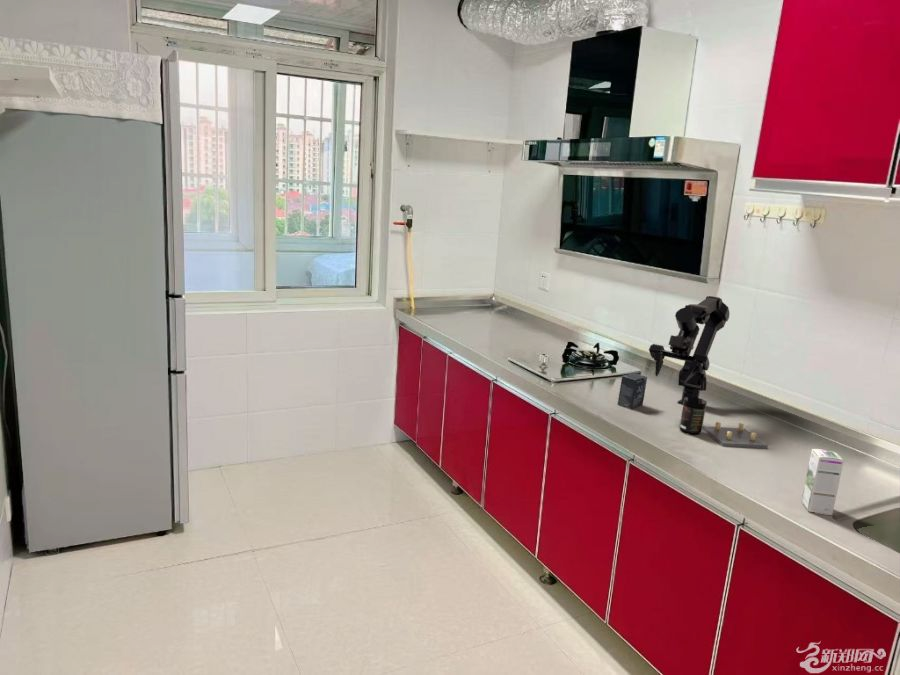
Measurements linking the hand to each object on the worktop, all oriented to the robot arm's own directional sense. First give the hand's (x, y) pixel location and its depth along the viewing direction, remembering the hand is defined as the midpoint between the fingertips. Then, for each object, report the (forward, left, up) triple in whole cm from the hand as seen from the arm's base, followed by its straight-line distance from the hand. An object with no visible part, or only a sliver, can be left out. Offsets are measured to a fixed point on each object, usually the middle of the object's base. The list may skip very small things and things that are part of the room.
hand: (670, 379), depth 223 cm
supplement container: (+4, +10, -14) cm, 18 cm away
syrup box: (+35, +51, -14) cm, 63 cm away
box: (-6, -14, -14) cm, 21 cm away
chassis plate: (-1, +22, -14) cm, 26 cm away
